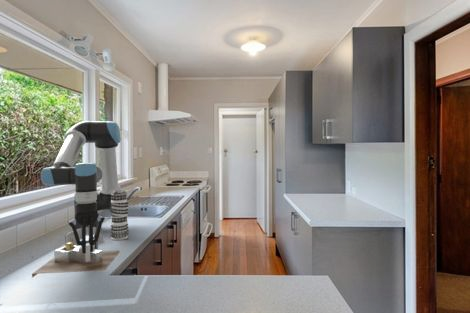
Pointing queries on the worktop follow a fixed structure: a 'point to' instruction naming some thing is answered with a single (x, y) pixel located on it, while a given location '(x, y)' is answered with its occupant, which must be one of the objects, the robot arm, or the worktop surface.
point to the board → (77, 265)
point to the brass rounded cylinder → (69, 246)
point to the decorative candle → (119, 215)
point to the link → (77, 255)
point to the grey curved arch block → (71, 237)
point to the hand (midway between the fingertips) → (87, 260)
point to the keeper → (93, 243)
